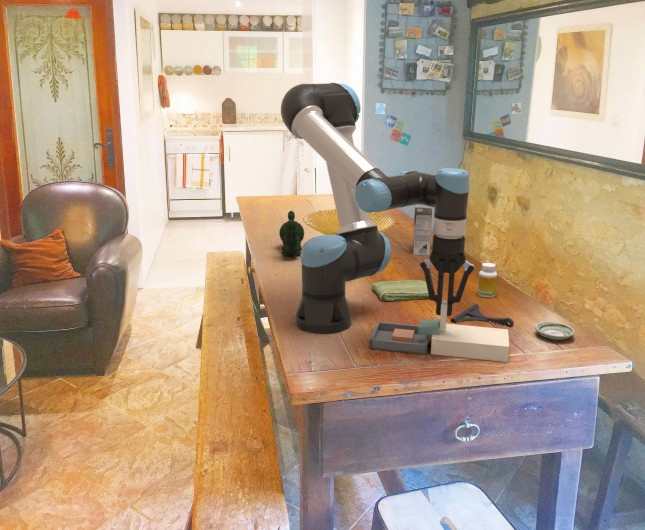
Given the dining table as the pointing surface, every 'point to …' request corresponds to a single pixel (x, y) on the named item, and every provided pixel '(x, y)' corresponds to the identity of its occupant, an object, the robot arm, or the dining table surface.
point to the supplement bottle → (487, 280)
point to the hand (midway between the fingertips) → (442, 327)
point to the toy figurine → (291, 236)
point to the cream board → (472, 342)
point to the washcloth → (401, 290)
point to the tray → (383, 341)
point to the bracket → (479, 317)
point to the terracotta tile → (403, 335)
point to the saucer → (554, 330)
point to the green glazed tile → (429, 327)
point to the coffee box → (422, 231)
